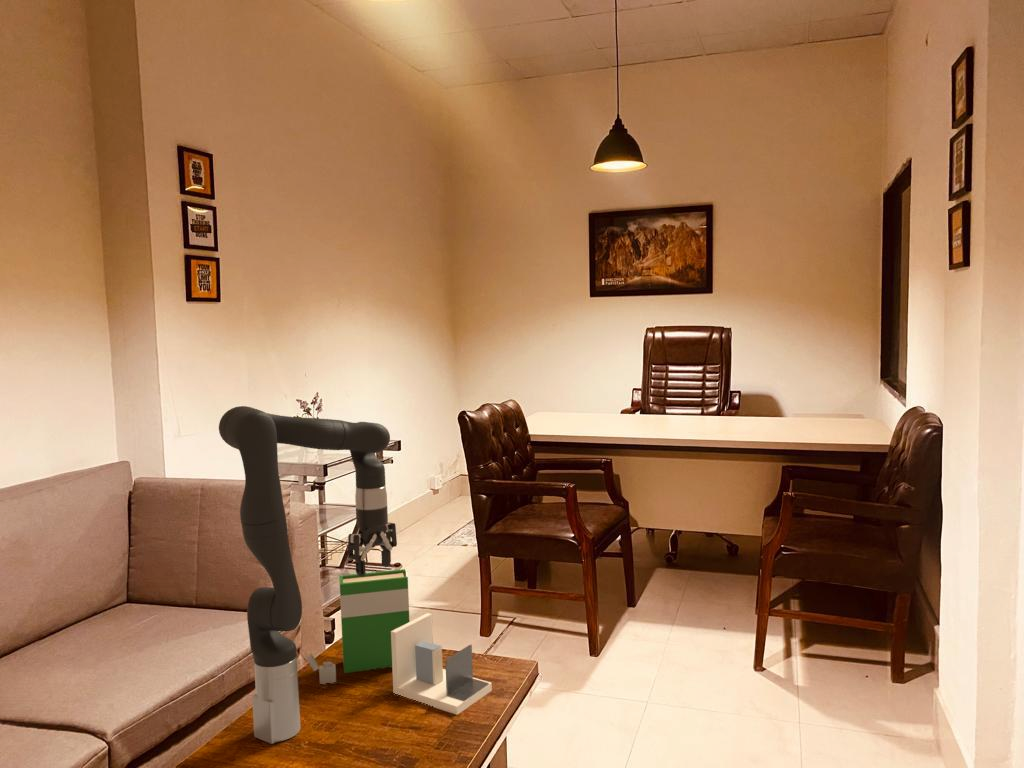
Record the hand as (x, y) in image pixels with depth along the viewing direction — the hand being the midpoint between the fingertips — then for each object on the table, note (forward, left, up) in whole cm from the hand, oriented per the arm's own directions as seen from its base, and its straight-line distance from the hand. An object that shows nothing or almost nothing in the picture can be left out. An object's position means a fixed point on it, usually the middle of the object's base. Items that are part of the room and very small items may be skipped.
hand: (374, 570), depth 192 cm
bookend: (+11, -19, -30) cm, 37 cm away
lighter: (-2, +18, -32) cm, 37 cm away
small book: (+10, -8, -30) cm, 32 cm away
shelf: (+10, -12, -32) cm, 35 cm away
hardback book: (+14, +14, -32) cm, 38 cm away
